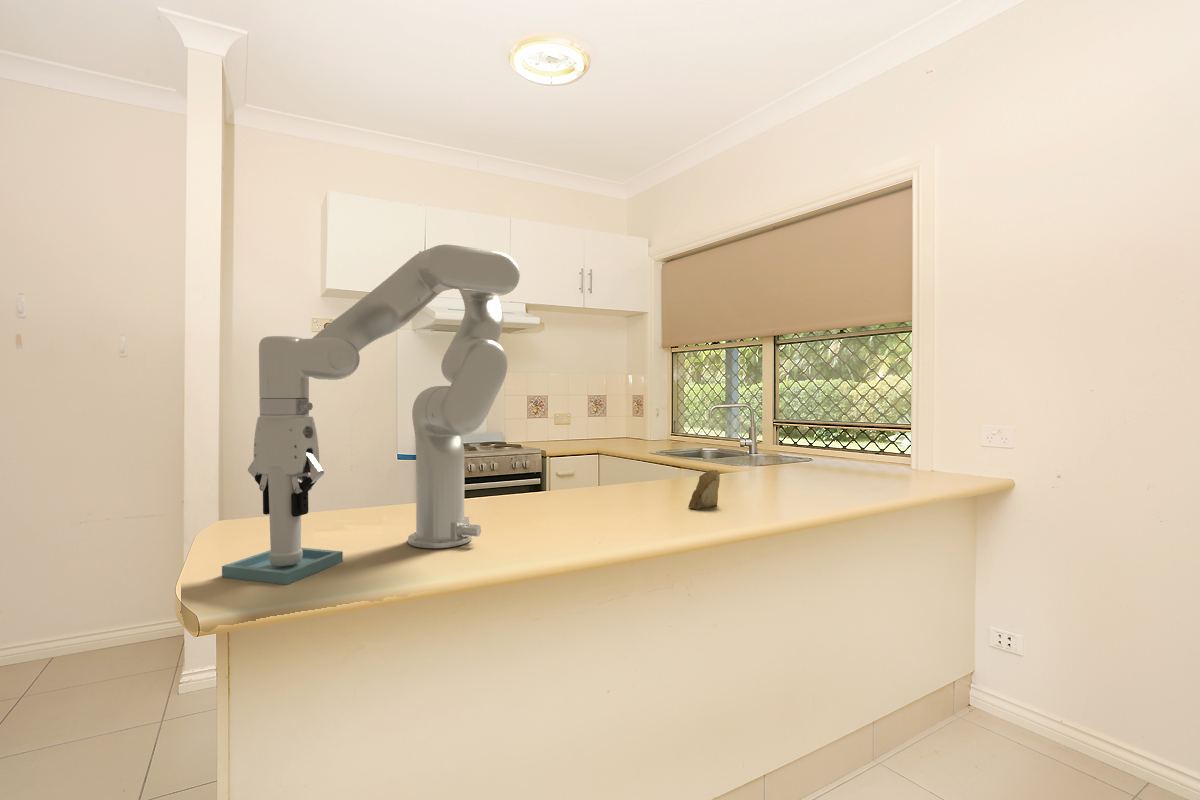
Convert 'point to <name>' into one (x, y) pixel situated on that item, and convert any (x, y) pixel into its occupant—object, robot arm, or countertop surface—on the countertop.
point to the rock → (706, 490)
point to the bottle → (283, 520)
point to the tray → (281, 567)
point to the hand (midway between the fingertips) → (285, 512)
